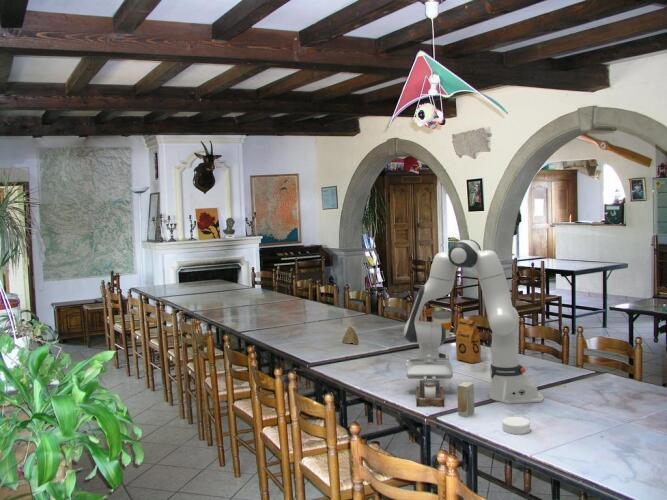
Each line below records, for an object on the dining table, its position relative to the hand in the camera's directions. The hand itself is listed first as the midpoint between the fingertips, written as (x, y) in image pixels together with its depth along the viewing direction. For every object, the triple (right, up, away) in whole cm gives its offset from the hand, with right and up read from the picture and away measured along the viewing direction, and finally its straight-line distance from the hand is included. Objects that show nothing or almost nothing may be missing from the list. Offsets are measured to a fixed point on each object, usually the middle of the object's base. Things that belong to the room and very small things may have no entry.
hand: (429, 386), depth 283 cm
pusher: (0, -4, +1) cm, 4 cm away
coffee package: (+29, +1, +58) cm, 65 cm away
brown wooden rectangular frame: (-1, -5, -5) cm, 6 cm away
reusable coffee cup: (+25, +6, +120) cm, 123 cm away
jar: (-1, -5, -8) cm, 10 cm away
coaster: (+25, -7, -43) cm, 51 cm away
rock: (-32, +3, +110) cm, 114 cm away
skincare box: (+11, -6, -24) cm, 27 cm away
